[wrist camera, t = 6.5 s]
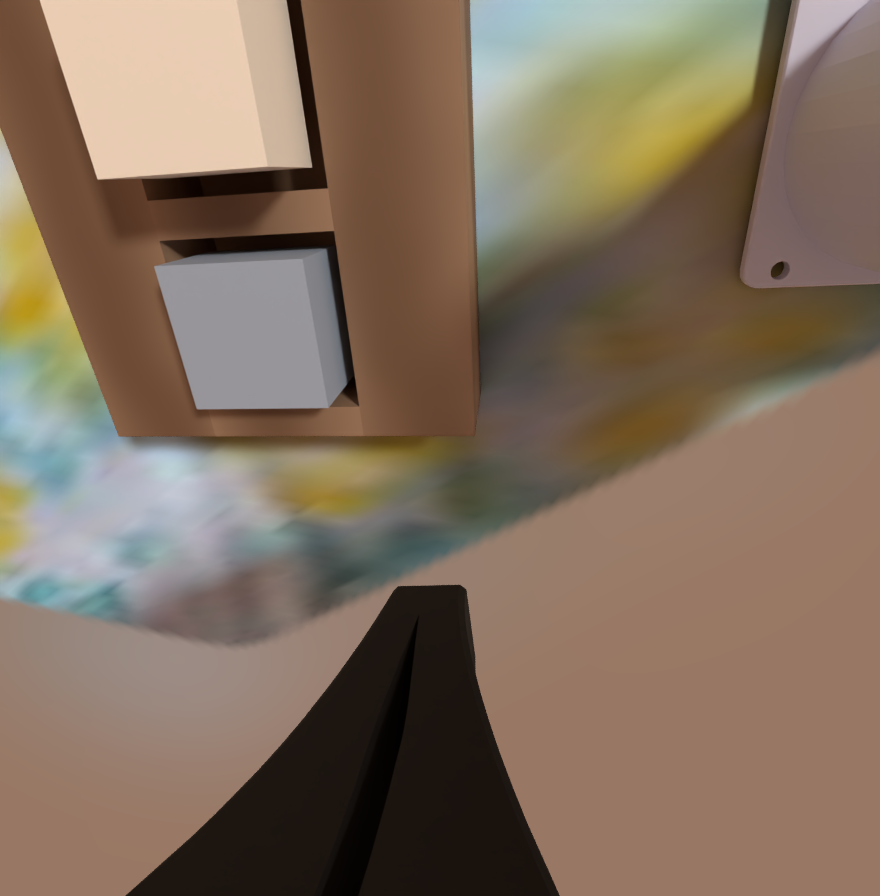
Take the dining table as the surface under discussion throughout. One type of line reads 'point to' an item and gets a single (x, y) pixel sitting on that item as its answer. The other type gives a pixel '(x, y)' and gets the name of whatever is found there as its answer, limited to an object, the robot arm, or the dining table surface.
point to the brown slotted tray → (281, 222)
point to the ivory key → (182, 85)
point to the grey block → (260, 326)
